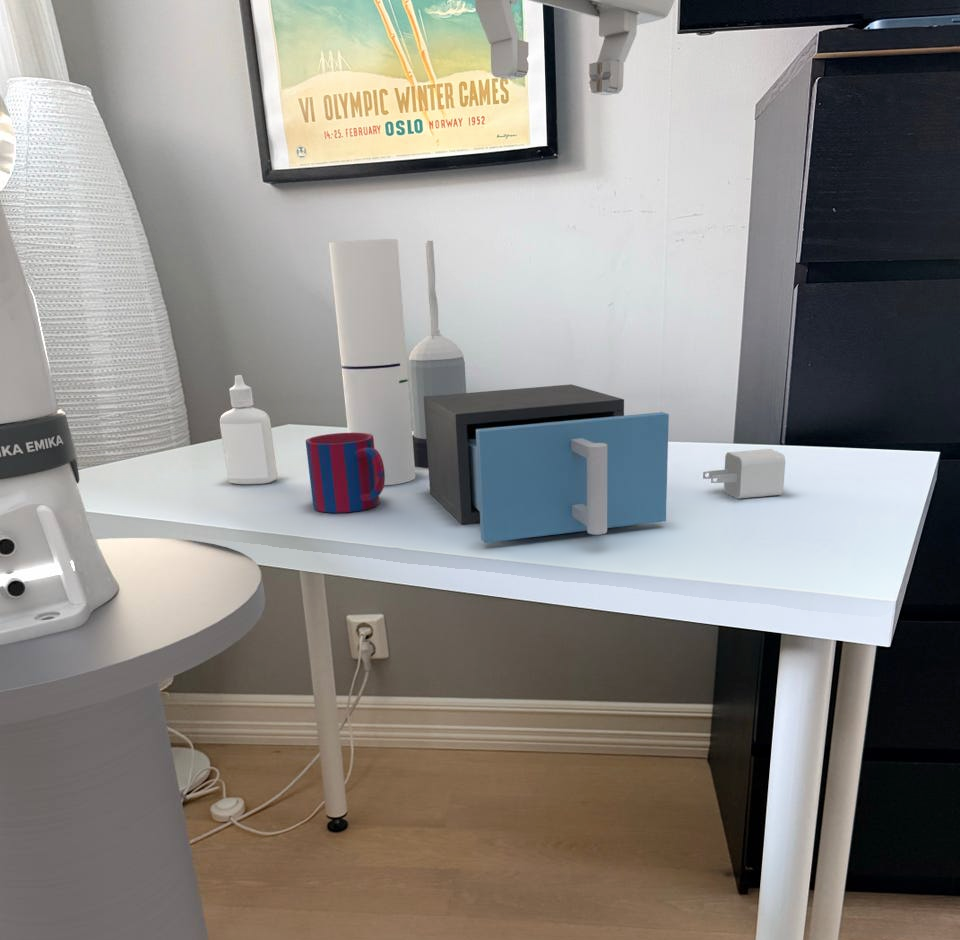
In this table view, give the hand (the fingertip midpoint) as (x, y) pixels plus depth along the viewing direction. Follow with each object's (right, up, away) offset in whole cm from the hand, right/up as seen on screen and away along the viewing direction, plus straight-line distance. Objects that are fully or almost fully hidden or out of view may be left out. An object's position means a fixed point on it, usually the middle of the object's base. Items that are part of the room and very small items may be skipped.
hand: (560, 85), depth 59 cm
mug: (-18, -22, +34) cm, 45 cm away
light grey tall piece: (-10, -14, +55) cm, 58 cm away
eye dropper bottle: (-32, -17, +49) cm, 61 cm away
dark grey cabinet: (-1, -21, +34) cm, 40 cm away
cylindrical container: (-16, -17, +47) cm, 52 cm away
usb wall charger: (+20, -21, +31) cm, 43 cm away
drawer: (+2, -25, +23) cm, 34 cm away
